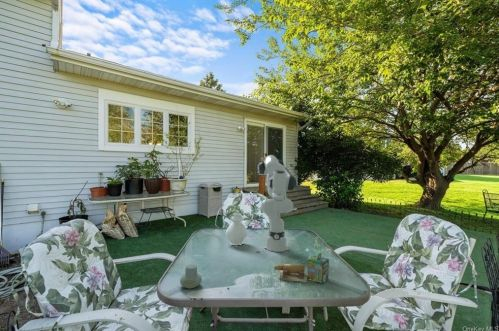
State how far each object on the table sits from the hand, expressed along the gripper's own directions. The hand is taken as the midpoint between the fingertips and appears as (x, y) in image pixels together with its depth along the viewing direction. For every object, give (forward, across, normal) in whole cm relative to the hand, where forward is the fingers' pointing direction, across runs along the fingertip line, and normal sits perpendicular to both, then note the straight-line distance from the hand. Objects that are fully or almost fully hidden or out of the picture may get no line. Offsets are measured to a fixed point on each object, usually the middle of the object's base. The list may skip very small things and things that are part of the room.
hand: (278, 217), depth 158 cm
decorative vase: (+31, -43, -35) cm, 64 cm away
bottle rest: (+31, +14, +9) cm, 35 cm away
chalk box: (+31, +14, +23) cm, 41 cm away
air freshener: (+31, +35, -44) cm, 64 cm away
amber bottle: (+28, +12, +7) cm, 31 cm away
